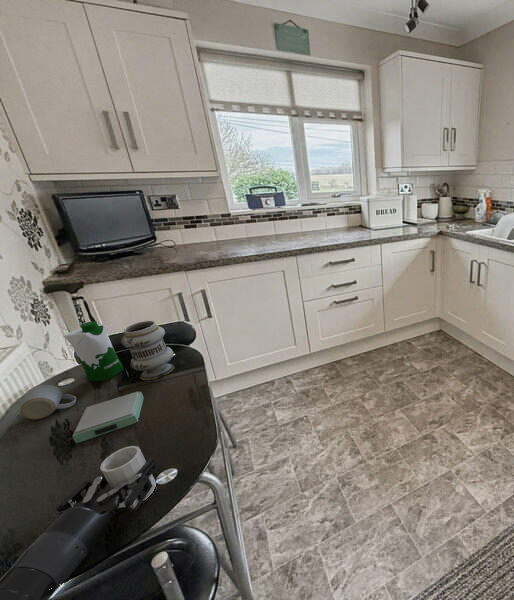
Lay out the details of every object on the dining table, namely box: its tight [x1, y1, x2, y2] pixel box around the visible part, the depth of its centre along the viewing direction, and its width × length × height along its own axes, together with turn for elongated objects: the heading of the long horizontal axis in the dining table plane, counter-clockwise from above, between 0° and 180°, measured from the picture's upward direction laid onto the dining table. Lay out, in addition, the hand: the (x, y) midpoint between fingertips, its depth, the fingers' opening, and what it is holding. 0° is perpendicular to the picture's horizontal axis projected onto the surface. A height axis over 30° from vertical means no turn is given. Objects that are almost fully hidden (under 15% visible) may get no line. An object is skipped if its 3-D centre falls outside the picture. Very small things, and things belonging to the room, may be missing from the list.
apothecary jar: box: [120, 320, 175, 381], centre depth 111 cm, size 12×12×18 cm
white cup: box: [99, 445, 157, 501], centre depth 66 cm, size 6×6×10 cm
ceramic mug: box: [19, 383, 77, 420], centre depth 97 cm, size 11×8×8 cm
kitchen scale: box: [71, 391, 145, 444], centre depth 91 cm, size 13×14×3 cm
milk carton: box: [63, 320, 125, 382], centre depth 111 cm, size 9×9×20 cm
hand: (136, 463), depth 68 cm, fingers closed on white cup, 6 cm apart
